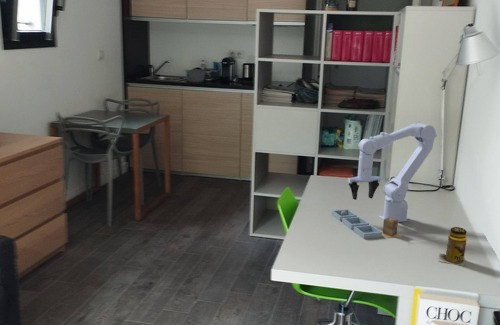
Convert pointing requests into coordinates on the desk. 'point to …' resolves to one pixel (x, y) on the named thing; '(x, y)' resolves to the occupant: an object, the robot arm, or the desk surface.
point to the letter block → (390, 226)
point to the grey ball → (344, 213)
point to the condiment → (455, 247)
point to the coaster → (391, 236)
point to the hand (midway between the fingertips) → (362, 198)
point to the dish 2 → (354, 222)
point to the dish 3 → (367, 231)
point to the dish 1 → (338, 216)
